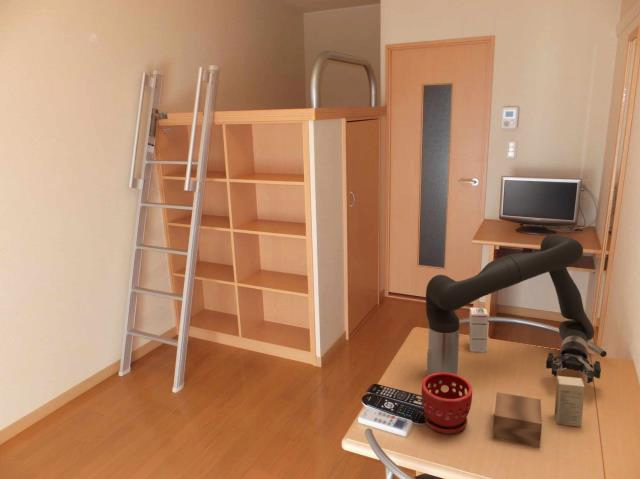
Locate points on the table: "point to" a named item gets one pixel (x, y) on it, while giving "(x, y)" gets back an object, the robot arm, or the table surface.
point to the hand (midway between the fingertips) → (571, 377)
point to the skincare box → (569, 401)
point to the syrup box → (478, 329)
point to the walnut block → (518, 419)
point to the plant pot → (446, 402)
